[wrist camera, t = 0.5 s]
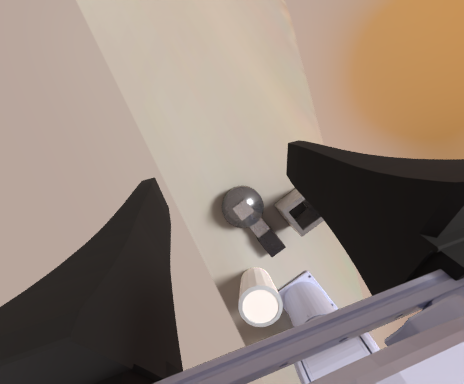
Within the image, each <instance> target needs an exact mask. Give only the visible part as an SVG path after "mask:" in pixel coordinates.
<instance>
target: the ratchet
mask: <svg viewBox="0 0 464 384" xmlns="http://www.w3.org/2000/svg"><path fill="white" fill-rule="evenodd" d="M263 208H264V206H263V201H262V198H261V196H260V195H259V194H258V193H257V192H256V191H255V190H254V189H252V188H250V187H248V186H237V187H234V188H232V189H231V190H230V191H228V193H227V194H226V195H225V197H224V199H223V203H222V212H223V215H224V217H225V219H226V220H227V221H228V222H229V223H230V224H232V225H233V226H236V227H240V228H246V227H250V228H251V230H252V231H253V232H254V233H255V235H256V236H257V239H258V241H259V242H260V243H261V244H262V246H263V247H264V248H265V249H266V251H267V252H268V253H269V254H270V256H271V257H273V256H275V255H276V254H277V253H279V252H280V251H281V250H283V249H284V248H285V245H284V244H283V242H282V241H281V240H280V239H279V237H278V236H277V235H276V234H275V232H274V231H273V230H272V229H271V227H270V226H269V227H268V225H267V224H266V223H265V222H264V220H263V219H262V218H261V216H262V214H263Z"/></svg>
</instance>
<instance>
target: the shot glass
mask: <svg viewBox="0 0 464 384" xmlns="http://www.w3.org/2000/svg"><path fill="white" fill-rule="evenodd" d="M238 310H239V313H240V315H241V317H242V318H243V319H244V320H245V321H246V322H247V323H248V324H250V325H252V326H255V327H266V326H269V325H272V324H273V323H274V322H275V321H277V320H278V319H279V317H280V315H281V313H282V310H283V302H282V299H281V297H280V295H279V293H278V291H277V289H276V287H275V285H274V283H273V281H272V279H271V278H270V276H269V274H268V273H267V272H266V271H265V270H264V269H262V268H259V267H253V268H250V269H248V270H246V271H245V272H244V273H243V275H242V277H241V284H240V294H239V305H238Z"/></svg>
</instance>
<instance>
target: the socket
mask: <svg viewBox="0 0 464 384" xmlns="http://www.w3.org/2000/svg"><path fill="white" fill-rule="evenodd" d="M301 202H303V204H304V205H305V206H306V208H307V209H306V210H305V211H304V212H302V213H301V214H300V215H298V216H297V217H296V218H294V219H293V217H292V216H291V215H290V213H289V211H290V210H292V209H293V208H294V207H296V206H297V205H298V204H300V203H301ZM274 206H275V207H276V208H277V209H278V211H279V212H280V213H281V215H282V216H283V217H284V218H285V220H286V221H287V222H288V223H289V225H290V226H291V227H292V228H293V229H294V230H295V231H296V232H297V233H298V234H299V235H300V236H304V235H305V234H306V233H308V232H309V231H310V230H312V229H313V228H314V227H316V226H317V225H318V224H320V223H321V222H322V221H324V219H323V218H322V217H321V216H320V215H319V214H318V212H317V211H316V210H315V209H314V208H313V207H312V206H311V205H310V204H309V203H308V202H307V200H306V199H305V198H304V197H303V196H302V195H301V194H300V193H299V192H298V191H297V189H296V188H295V189H294V190H292V191H291V192H290V193H288V194H287V195H286V196H285V197H283V198H282V199H281V200H279V201H278V202H277V203H276V204H274Z"/></svg>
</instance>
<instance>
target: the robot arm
mask: <svg viewBox="0 0 464 384" xmlns="http://www.w3.org/2000/svg"><path fill="white" fill-rule="evenodd" d="M286 175H287V176H288V178H289V179H290V181H291V183H292V184H293V185H294V187H295V188H296V189H297V191H298V192H299V193H300V194H301V195H302V196H303V197H304V198H305V199H306V200H307V202H308V203H309V204H310V205H311V206H312V207H313V208H314V209H315V210H316V211H317V212H318V214H319V215H320V216H321V217H322V218H323V219H324V221H325V222H326V223H327V225H328V226H329V227H330V229H331V230H332V232H333V233H334V234H335V236H336V237H337V239H338V240H339V242H340V243H341V245H342V246H343V247H344V249H345V250H346V252H347V254H348V255H349V257H350V258H351V260H352V262H353V263H354V265H355V266H356V268H357V270H358V271H359V273H360V275H361V277H362V278H363V280H364V282H365V284H366V285H367V287H368V289H369V291H370V293H371V294H372V296H371V297H369V298H366V299H364V300H361V301H358V302H356V303H353V304H351V305H348V306H346V307H343V308H341V309H338V308H337V306H336V305H335V304H334V302H333V301H332V300H331V299H330V297H329V296H328V295H327V294H326V292H325V291H324V290H323V289H322V287H321V286H320V285H319V284H318V282H317V281H316V280H315V278H314V277H313V276H312V275H311V273H310V272H309V271H306V272H304V273H303V274H302V275H300V276H299V277H298V278H296V279H295V280H293V281H292V282H291V283H289V284H288V285H287V286H285V287H284V288H282V289H281V290H280V291H278V293H279V295H280V297H281V299H282V302H283V308H284V310H285V311H286V312H287V313H288V314H289V316H290V319H291V322H292V324H293V328H291V329H288V330H286V331H283V332H281V333H278V334H276V335H273V336H271V337H268V338H265V339H263V340H260V341H258V342H255V343H253V344H250V345H248V346H245V347H243V348H240V349H238V350H235V351H233V352H230V353H228V354H225V355H223V356H220V357H218V358H215V359H213V360H210V361H208V362H205V363H203V364H200V365H198V366H195V367H193V368H190V369H188V370H185V371H183V367H182V361H181V355H180V348H179V341H178V335H177V327H176V319H175V311H174V304H173V294H172V283H171V273H170V241H171V239H170V238H171V222H170V214H169V208H168V205H167V203H166V201H165V199H164V197H163V195H162V192H161V190H160V188H159V186H158V184H157V181H156V179H155V178H151V179H147V180H144V181H142V182H141V183H140V184H139V185H138V186H137V188H136V189H135V190H134V191H133V193H132V194H131V195H130V197H129V198H128V199H127V200H126V202H125V203H124V204H123V205H122V206H121V208H120V209H119V210H118V211H117V212H116V213H115V214H114V216H113V217H112V218H111V219H110V220H109V221H108V222H107V224H105V226H104V227H103V228H102V229H101V230H100V231H99V232H98V233H97V234H95V235H94V236H93V237H92V238H91V239H90V240H89V241H88V242H87V243H86V244H85V245H84V246H82V247H81V248H80V249H79V250H77V252H75V253H74V254H73V255H72V256H70V257H69V258H68V259H67V260H65V261H64V262H63V263H62V264H61V265H59V266H58V267H57V268H55V269H54V270H53V271H51V272H50V273H49V274H47V275H46V276H45V277H43V278H42V279H41V280H39V281H38V282H36V283H35V284H34V285H32V286H31V287H29V288H28V289H27V290H25V291H24V292H22V293H21V294H19V295H18V296H17V297H15V298H13V299H12V300H10V301H9V302H7V303H6V304H4V305H3V306H1V307H0V384H247V383H249V382H251V381H254V380H256V379H259V378H261V377H263V376H266V375H268V374H270V373H273V372H275V371H277V370H280V369H282V368H284V367H287V366H289V365H291V364H294V366H295V368H296V371H297V374H298V376H299V379H300V381H301V384H464V159H462V160H434V159H432V160H431V159H430V160H429V159H407V158H394V157H384V156H376V155H368V154H362V153H356V152H351V151H346V150H341V149H337V148H332V147H328V146H324V145H320V144H315V143H311V142H306V141H295V142H291V143H288V154H287V174H286ZM309 275H310V277H308V276H309ZM331 304H332V305H331ZM421 309H422V311H421V312H419V313H417V314H415V315H413V316H412V317H410V318H408V320H407V321H406V322H405V324H404V325H403V326H402V327H400V328H399V329H398V330H397V331H396V332H394V333H393V334H391V335H390V336H389V337H387V338H386V339H385V344H386V345H387V346H388V347H385V348H383V349H381V350H380V349H379V348H378V346H377V344H376V343H375V341H374V340H373V339H372V337H371V336H370V335H369V333H368V332H369V331H371V330H374V329H376V328H378V327H381V326H383V325H385V324H388V323H390V322H392V321H395V320H397V319H400V318H402V317H404V316H407V315H409V314H411V313H414V312H416V311H418V310H421Z"/></svg>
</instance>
